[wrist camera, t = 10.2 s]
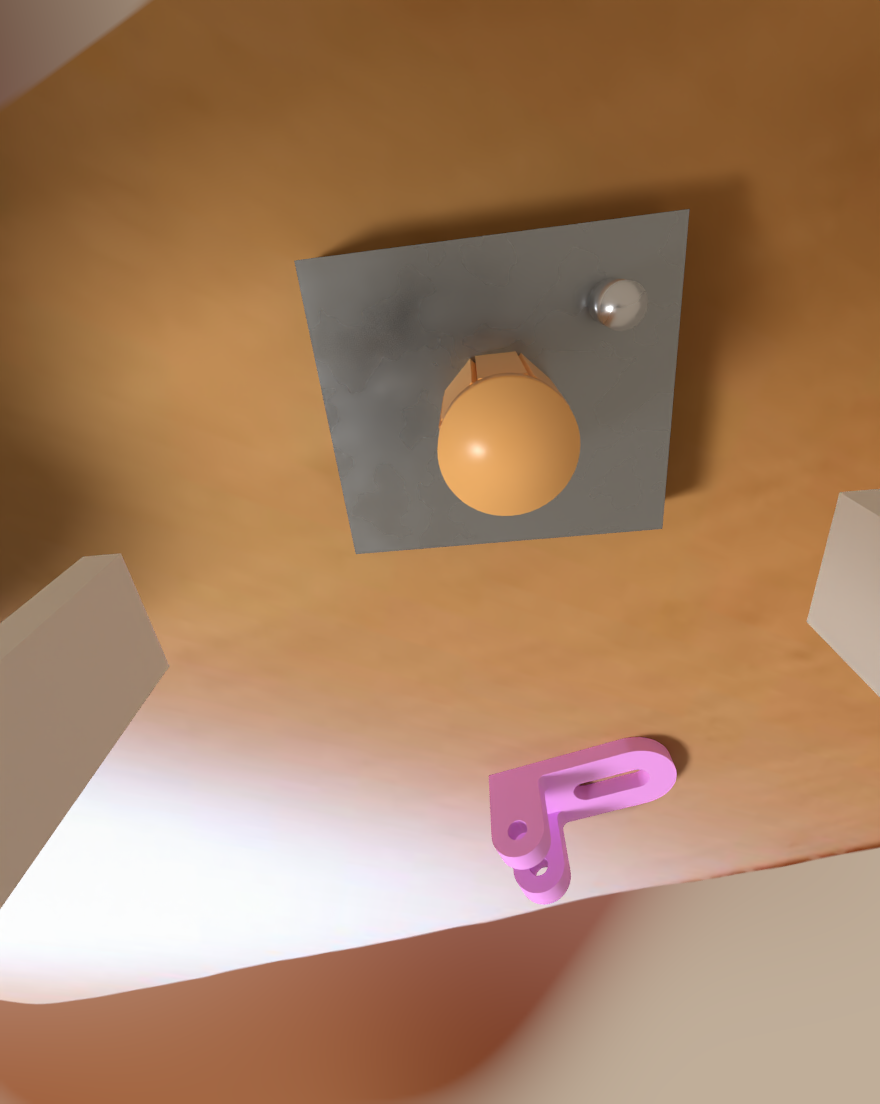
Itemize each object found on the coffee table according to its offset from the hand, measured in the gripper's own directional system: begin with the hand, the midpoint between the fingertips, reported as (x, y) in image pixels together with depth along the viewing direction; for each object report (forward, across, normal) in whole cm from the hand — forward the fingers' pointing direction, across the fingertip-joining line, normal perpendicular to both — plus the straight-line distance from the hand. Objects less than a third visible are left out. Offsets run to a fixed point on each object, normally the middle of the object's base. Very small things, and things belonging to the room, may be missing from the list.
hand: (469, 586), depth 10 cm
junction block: (+20, +2, -1) cm, 20 cm away
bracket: (+20, +7, -30) cm, 37 cm away
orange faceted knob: (+17, +2, -1) cm, 17 cm away
